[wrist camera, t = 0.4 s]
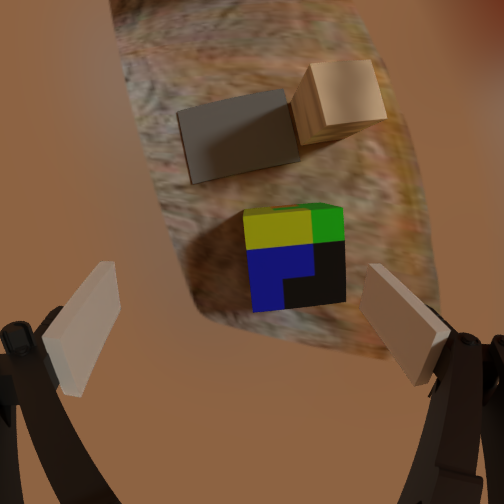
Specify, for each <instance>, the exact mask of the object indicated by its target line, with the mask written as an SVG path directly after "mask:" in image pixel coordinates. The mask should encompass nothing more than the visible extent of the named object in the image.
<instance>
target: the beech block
mask: <svg viewBox="0 0 504 504" xmlns="http://www.w3.org/2000/svg"><path fill="white" fill-rule="evenodd" d="M290 103H291V107H292V111H293V115H294V119H295V123H296V127H297V132H298V136H299V140H300V145H307V144H313V143H320V142H326V141H333V140H339V139H345V138H347V137H349V136H351V135H353V134H355V133H357V132H359V131H362V130H364V129H366V128H368V127H370V126H372V125H374V124H377V123H379V122H381V121H383V120H385V119H387V116H386V112H385V108H384V104H383V100H382V97H381V93H380V89H379V86H378V83H377V79H376V76H375V73H374V69H373V66H372V63H371V60H352V61H336V62H323V63H313V64H310V65H309V67H308V69H307V71H306V73H305V75H304V77H303V79H302V80H301V82H300V84H299V86H298V88H297V90H296V92H295V94H294V96H293V98H292V100H291V102H290Z"/></svg>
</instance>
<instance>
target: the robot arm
mask: <svg viewBox="0 0 504 504" xmlns="http://www.w3.org/2000/svg"><path fill="white" fill-rule="evenodd" d="M359 309H360V310H361V312H362V313H363V315H364V316H365V317H366V319H367V320H368V321H369V323H370V324H371V326H372V327H373V328H374V330H375V331H376V333H377V334H378V335H379V337H380V338H381V340H382V341H383V342H384V344H385V345H386V347H387V348H388V349H389V351H390V352H391V354H392V355H393V357H394V358H395V359H396V361H397V362H398V364H399V365H400V367H401V368H402V369H403V371H404V372H405V374H406V375H407V377H408V378H409V380H410V381H411V383H412V384H413V386H418V385H423V384H426V383H428V382H429V380H430V378H431V376H432V373H434V374H435V375H436V376H437V379H436V382H435V383H434V385H433V387H432V390H431V392H430V393H429V395H428V397H429V398H430V396H431V395H432V396H431V400H430V405H429V409H428V413H427V417H426V421H425V424H424V428H423V432H422V435H421V438H420V442H419V445H418V449H417V452H416V455H415V458H414V461H413V464H412V467H411V469H410V472H409V475H408V478H407V480H406V483H405V486H404V488H403V491H402V493H401V496H400V498H399V501H398V503H397V504H480V500H481V494H482V489H483V478H482V477H481V476H476V467H477V460H478V452H479V444H480V434H481V440H482V446H483V453H484V460H485V469H486V478H487V490H488V504H504V335H495V336H494V338H493V339H492V342H491V344H481V342H480V340H479V339H478V338H477V337H475V336H474V335H471V334H469V333H464V332H463V333H458V332H457V331H456V330H455V329H453V327H452V326H450V325H449V324H448V323H447V322H446V321H445V320H444V319H443V318H442V317H441V316H439V314H438V313H437V312H436V311H435V310H434V309H433V308H431V307H429V306H428V305H426V304H424V303H423V302H421V301H420V300H419V299H418V298H417V297H416V296H415V295H414V294H413V293H412V292H411V291H410V290H409V289H408V288H407V287H406V286H404V285H403V284H402V283H401V282H400V281H399V280H398V279H397V278H396V277H395V276H394V275H393V274H391V273H390V272H389V271H388V270H387V269H386V268H385V267H384V266H383V265H381V264H368V268H367V274H366V279H365V283H364V288H363V293H362V298H361V302H360V306H359ZM120 310H121V306H120V299H119V293H118V286H117V279H116V271H115V263H114V261H100V263H99V264H98V265H97V266H96V267H95V269H94V270H93V271H92V272H91V274H90V275H89V276H88V277H87V278H86V279H85V281H84V282H83V283H82V284H81V286H80V287H79V288H78V289H77V291H76V292H75V293H74V294H73V296H72V297H71V298H70V300H69V301H68V302H67V303H66V305H65V306H58V307H56V308H55V309H54V310H52V311H50V313H49V314H48V315H47V316H46V318H45V320H43V322H42V323H41V325H40V326H39V327H38V328H37V329H36V331H35V332H34V333H33V331H32V328H31V326H30V324H29V323H27V322H25V321H16V322H12V323H10V324H8V325H6V326H5V327H4V328H3V329H2V330H1V331H0V338H1V341H2V344H3V346H4V349H5V351H6V354H0V504H24V501H23V494H22V488H21V481H20V472H19V463H18V450H17V431H16V405H20V407H21V410H22V414H23V417H24V420H25V423H26V426H27V429H28V431H29V434H30V437H31V440H32V442H33V445H34V447H35V450H36V452H37V455H38V457H39V460H40V462H41V464H42V467H43V469H44V471H45V473H46V475H47V478H48V480H49V482H50V484H51V486H52V488H53V490H54V492H55V494H56V496H57V498H58V500H59V502H60V504H122V503H121V502H120V501H119V500H118V498H117V497H116V495H115V494H114V492H113V491H112V490H111V488H110V487H109V485H108V484H107V482H106V481H105V479H104V478H103V476H102V475H101V473H100V472H99V471H98V469H97V467H96V466H95V464H94V462H93V461H92V459H91V457H90V456H89V454H88V452H87V451H86V449H85V447H84V446H83V444H82V442H81V440H80V438H79V437H78V435H77V433H76V431H75V429H74V428H73V426H72V424H71V422H70V420H69V418H68V416H67V414H66V412H65V410H64V408H63V406H62V403H61V401H60V399H59V397H58V395H57V393H56V389H57V387H58V385H59V384H60V386H61V388H62V391H63V393H64V394H65V395H71V396H76V397H81V396H82V393H83V391H84V389H85V386H86V384H87V382H88V379H89V377H90V375H91V372H92V370H93V368H94V366H95V363H96V361H97V359H98V357H99V354H100V352H101V350H102V348H103V346H104V344H105V341H106V339H107V337H108V335H109V333H110V331H111V329H112V327H113V325H114V322H115V320H116V318H117V316H118V314H119V312H120ZM498 382H499V384H498ZM497 384H498V385H497Z"/></svg>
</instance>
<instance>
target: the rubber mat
mask: <svg viewBox="0 0 504 504" xmlns="http://www.w3.org/2000/svg"><path fill="white" fill-rule="evenodd" d="M178 117H179V122H180V127H181V131H182V136H183V141H184V146H185V151H186V155H187V160H188V165H189V169H190V174H191V179H192V183H193V184H196V183H200V182H204V181H208V180H213V179H217V178H221V177H225V176H230V175H234V174H239V173H243V172H248V171H253V170H258V169H262V168H267V167H272V166H277V165H282V164H288V163H293V162H298V161H300V157H299V152H298V148H297V143H296V139H295V135H294V130H293V126H292V122H291V118H290V114H289V110H288V106H287V102H286V98H285V94H284V90H283V89H278V90H272V91H266V92H260V93H255V94H250V95H244V96H240V97H235V98H230V99H225V100H221V101H217V102H212V103H208V104H204V105H200V106H196V107H192V108H189V109H185V110H181V111H178Z"/></svg>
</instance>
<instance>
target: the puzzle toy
mask: <svg viewBox="0 0 504 504" xmlns="http://www.w3.org/2000/svg"><path fill="white" fill-rule="evenodd" d="M243 223H244V233H245V242H246V252H247V261H248V271H249V280H250V290H251V299H252V308H253V313H254V312H265V311H274V310H284V309H293V308H301V307H310V306H318V305H326V304H333V303H341V302H346V263H345V236H344V218H343V208H342V207H338V206H334V205H330V204H325V203H308V204H296V205H284V206H273V207H263V208H252V209H244V213H243Z"/></svg>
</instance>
